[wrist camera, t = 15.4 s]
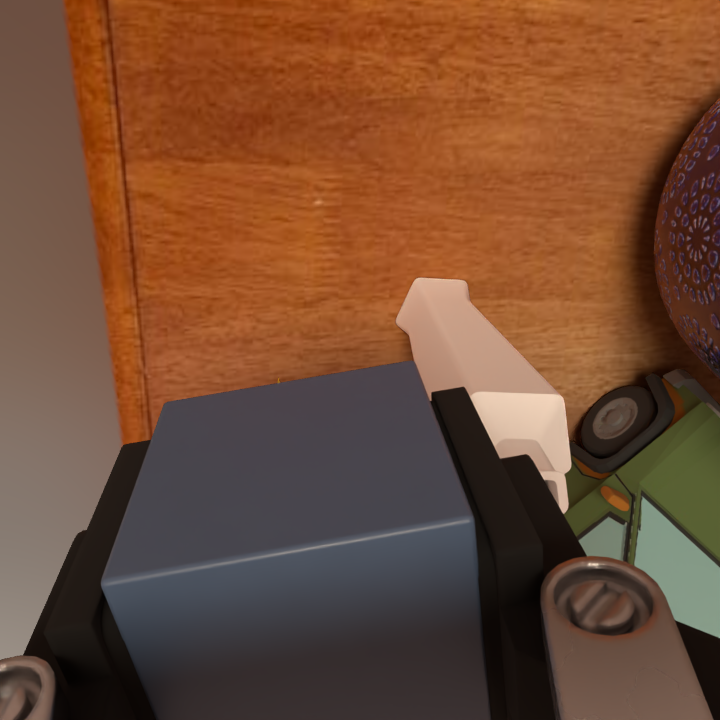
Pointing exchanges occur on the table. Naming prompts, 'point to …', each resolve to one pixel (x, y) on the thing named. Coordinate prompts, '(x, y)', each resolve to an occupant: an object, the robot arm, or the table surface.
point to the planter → (693, 241)
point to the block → (302, 557)
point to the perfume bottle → (487, 377)
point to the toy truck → (654, 490)
